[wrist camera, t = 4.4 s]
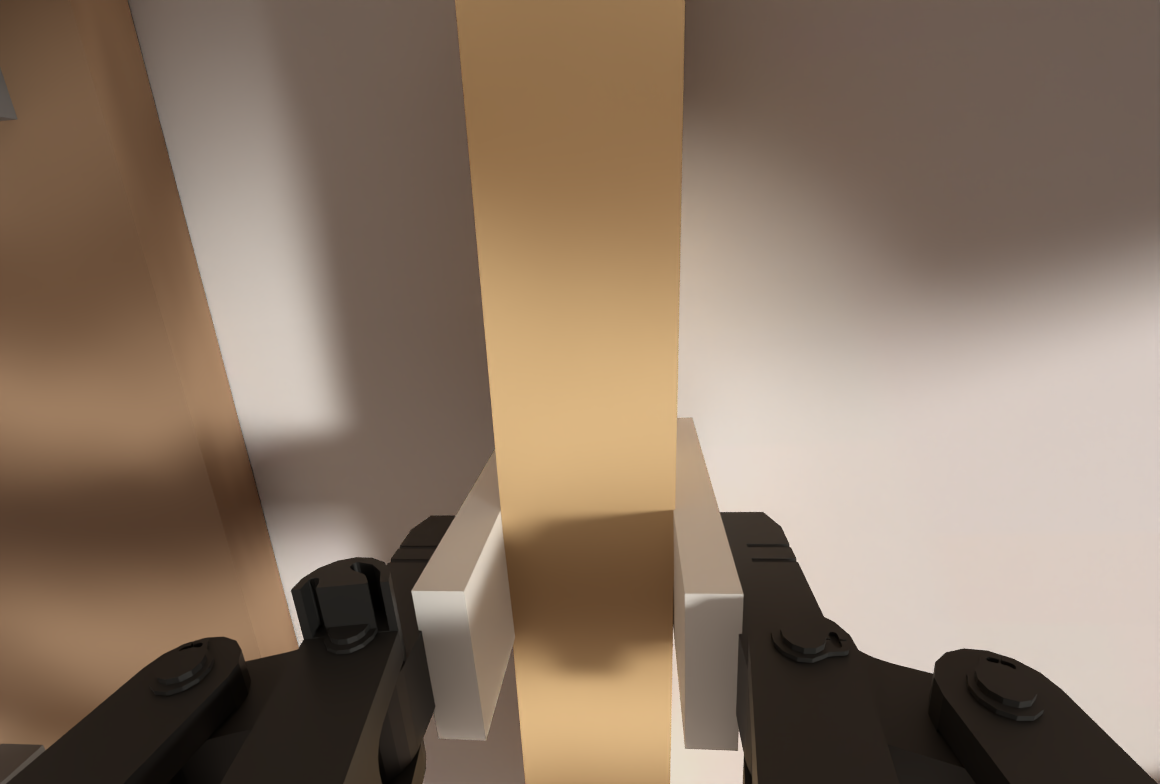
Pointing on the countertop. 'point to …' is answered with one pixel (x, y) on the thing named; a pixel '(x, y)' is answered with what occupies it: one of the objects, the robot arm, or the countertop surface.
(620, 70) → the oak slat
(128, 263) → the end cap board
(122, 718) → the robot arm
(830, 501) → the countertop surface
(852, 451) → the countertop surface
